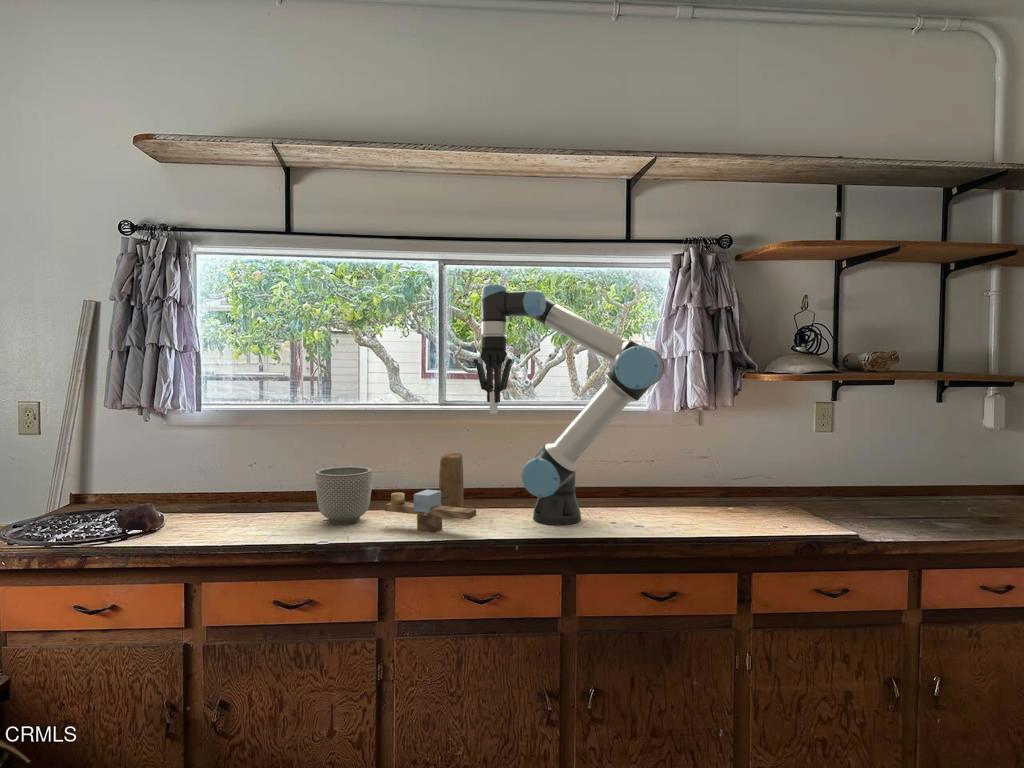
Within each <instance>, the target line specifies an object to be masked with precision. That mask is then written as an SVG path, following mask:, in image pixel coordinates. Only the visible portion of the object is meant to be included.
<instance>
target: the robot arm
mask: <svg viewBox="0 0 1024 768" xmlns="http://www.w3.org/2000/svg"><path fill="white" fill-rule="evenodd" d="M480 303H481V304H480V305H481V306H480V307H481V309H480V310H481V332H480V333H481V335H482V337H480V338H481V339H480V340H481V342H480V344H481V346H480V347H481V352H480V354H479V356H478V357H476V358H474V359H473V364H474V365H475V367H476V370H477V375H478V382H479V385H480V388H481V390H483V391H485V392H486V402H487V403H489V414H491V415H493V414H494V415H495V414H498V413H499V412H498V411H499V410H498V406H499V405H498V404H499V403H500V402H501V392H503V391H505V390H507V387H508V383H509V382H508V381H509V377H510V373H511V370H512V366H513V364H514V363H515V359H514V358H511V357H510V356H508V353H507V338H506V335H507V317H526V318H530V319H533V320H536V321H537V322H539V323H540V324H543V325H545V326H547V327H548V328H550V329H552V330H554V331H555V332H558V333H559V334H560V335H563V336H565V337H566V338H567V339H569V340H572V341H574V342H575V343H577V344H578V345H580V346H582V347H583V348H585V349H587V350H589V351H591V352H593V353H594V354H596V355H598V356H600V357H602V358H603V359H605V360H607V361H609V362H610V363H612V364H613V366H612V367H611V369H610V370H609V371H608V372H607V373H606V374H605V379H606V382H605V383H604V385H603V386H602V387H601V388H600V389H599V390H598V392H596V393H595V395H594V396H593V397H592V398H591V399H590V400H589V402H588V403H586V405H585V406H584V408H582V410H581V411H580V412H579V413H578V415H577V416H576V417H575V418H574V419H573V420H572V421H571V422H570V423H569V425H568V426H567V427H566V428H565V429H564V430H563V431H562V432H561V434H560V435H559V436H558V437H557V439H556V440H555V441H553V442H547V443H545V445H544V446H541V447H540V448H539V449H538V453H537V454H535V456H534V457H533V458H531V459H529V460H528V461H527V462H526V463H525V464H524V465H523V468H522V471H521V482H522V484H523V486H524V488H525V489H526V491H527V492H528V493H529V494H531V495H532V496H535V497H537V498H536V499H537V500H536V503H535V506H534V509H533V518H532V519H533V520H534V521H535V522H537V523H541V524H544V525H545V524H547V525H552V526H553V525H554V526H555V525H559V526H560V525H572V524H577V523H579V522H581V521H582V520H581V518H582V511H581V509H580V506H579V503H578V499H577V497H576V477H577V476H576V474H577V473H576V470H577V462H578V460H579V459H580V458H581V457H582V456H583V455H584V454H585V452H586V451H587V450H588V449H589V448H590V447H591V446H592V445H593V444H594V442H596V440H597V439H598V438H599V437H600V436H601V434H602V433H603V432H604V431H605V430H606V429H607V428H608V427H609V426H610V425H611V423H612V422H614V420H615V419H616V418H617V417H618V416H619V414H621V412H622V411H623V410H624V409H625V408H626V407H627V405H629V403H631V402H638V401H639V400H640V399H641V398H642V397H643V396H644V395H645V393H647V391H648V390H649V389H650V388H651V387H652V386H654V385H655V384H657V383H658V382H659V381H660V380H661V378H662V377H663V375H664V371H665V363H664V359H663V357H662V355H661V354H660V353H659V352H658V351H656V350H654V349H653V348H651V347H647V346H644V345H640V344H638V343H637V342H635V341H633V340H627V341H625V340H624V339H622V338H620V337H618V336H616V335H615V334H613V333H610V332H609V331H608V330H605V329H603V328H602V327H601V326H598V325H596V324H594V323H593V322H591V321H589V320H587V319H585V318H583V317H581V316H580V315H577V314H576V313H574V312H572V311H570V310H568V309H567V308H566V307H565V308H564V307H563V306H561V305H559V304H557V303H556V302H554V301H552V300H550V299H549V298H548V297H546V296H545V294H544V292H543V291H542V290H534V289H530V290H517V291H515V290H514V291H509V290H507V287H506V286H505V285H503V284H486V285H484V286H483V287H482V288H481V298H480ZM483 363H484V364H483ZM504 363H505V364H504ZM503 364H504V366H503V368H502V365H503ZM484 365H485V368H484ZM485 369H486V373H485ZM502 369H503V372H502Z"/></svg>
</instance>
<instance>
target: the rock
mask: <svg viewBox="0 0 1024 768" xmlns="http://www.w3.org/2000/svg"><path fill="white" fill-rule="evenodd" d="M113 518H114V519H115V522H116V523H117V526H118V528H119V527H120V528H122V529H123V530H142V531H146V532H145V533H148V532H150V531H149V530H151V529H155V530H157V529H159V528H160V527H162V526H163V524H164V521H165V516H163V515H158V513H157V510H156V507H155V506H154V504H153V503H152V502H151V503H150V502H147V503H142V504H137V506H134V507H130V508H126V509H122V510H121V511H119V512H117V513H116V514H115V516H114V517H113ZM120 528H119V529H120ZM156 528H157V529H156Z"/></svg>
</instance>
